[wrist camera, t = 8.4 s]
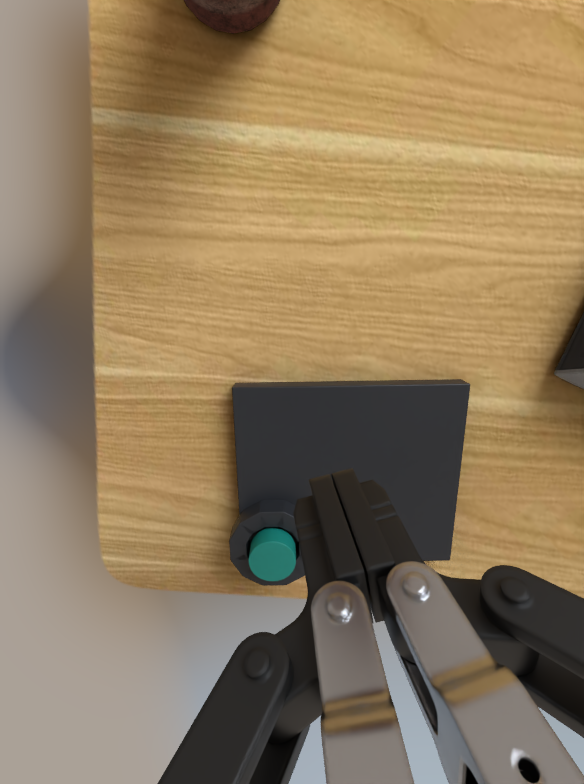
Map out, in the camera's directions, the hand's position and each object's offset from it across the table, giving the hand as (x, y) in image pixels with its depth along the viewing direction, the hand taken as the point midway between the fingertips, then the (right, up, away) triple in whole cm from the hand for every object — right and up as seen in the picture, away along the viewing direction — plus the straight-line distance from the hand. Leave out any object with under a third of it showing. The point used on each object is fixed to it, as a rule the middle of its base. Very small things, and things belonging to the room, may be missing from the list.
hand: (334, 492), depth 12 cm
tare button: (-3, -8, +14) cm, 16 cm away
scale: (+3, -3, +15) cm, 16 cm away
